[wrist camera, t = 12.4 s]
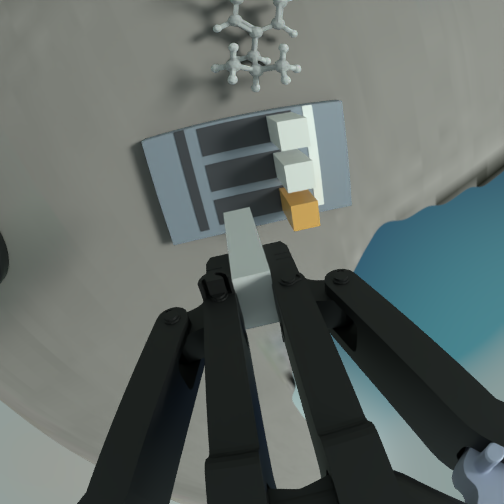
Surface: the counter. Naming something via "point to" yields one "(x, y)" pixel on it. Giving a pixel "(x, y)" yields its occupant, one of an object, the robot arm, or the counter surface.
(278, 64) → the molecular model
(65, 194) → the counter surface
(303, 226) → the toggle
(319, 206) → the breaker panel
